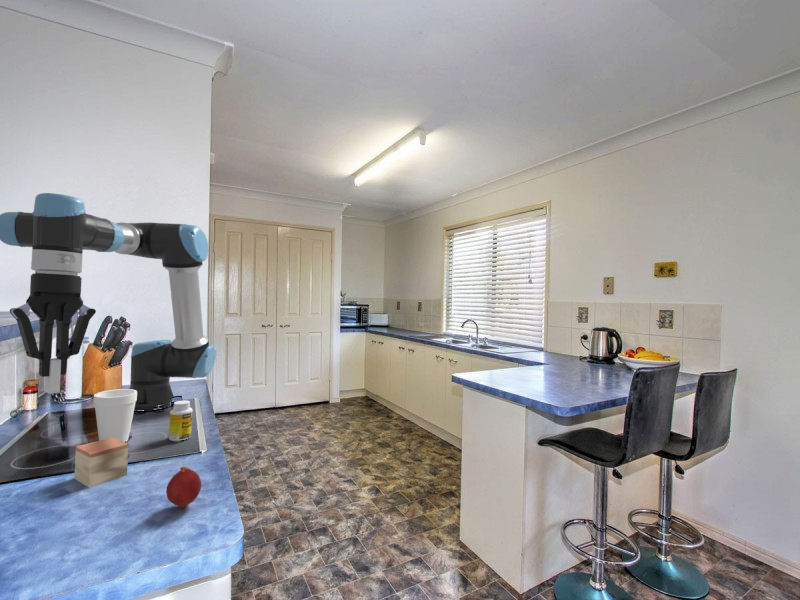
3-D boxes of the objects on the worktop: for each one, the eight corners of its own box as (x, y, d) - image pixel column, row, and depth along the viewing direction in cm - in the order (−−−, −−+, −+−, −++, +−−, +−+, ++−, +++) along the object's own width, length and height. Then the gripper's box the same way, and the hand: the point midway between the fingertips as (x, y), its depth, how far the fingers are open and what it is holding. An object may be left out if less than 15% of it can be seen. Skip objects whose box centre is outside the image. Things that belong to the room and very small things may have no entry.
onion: (179, 497, 77) (181, 458, 77) (206, 500, 76) (208, 460, 76) (158, 513, 71) (160, 470, 71) (187, 517, 70) (189, 473, 70)
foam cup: (111, 449, 98) (113, 399, 98) (82, 445, 100) (84, 395, 100) (143, 437, 107) (145, 390, 107) (116, 433, 109) (118, 387, 109)
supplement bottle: (181, 443, 104) (183, 405, 104) (163, 440, 105) (165, 403, 105) (196, 436, 109) (197, 400, 109) (179, 434, 110) (180, 398, 110)
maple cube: (111, 467, 89) (113, 437, 89) (126, 475, 85) (128, 444, 85) (74, 478, 82) (75, 446, 82) (89, 488, 79) (90, 454, 79)
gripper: (19, 270, 68) (13, 402, 68) (104, 276, 80) (99, 389, 80) (4, 270, 72) (-1, 395, 72) (88, 275, 83) (83, 383, 83)
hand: (51, 391), depth 76 cm, fingers closed
